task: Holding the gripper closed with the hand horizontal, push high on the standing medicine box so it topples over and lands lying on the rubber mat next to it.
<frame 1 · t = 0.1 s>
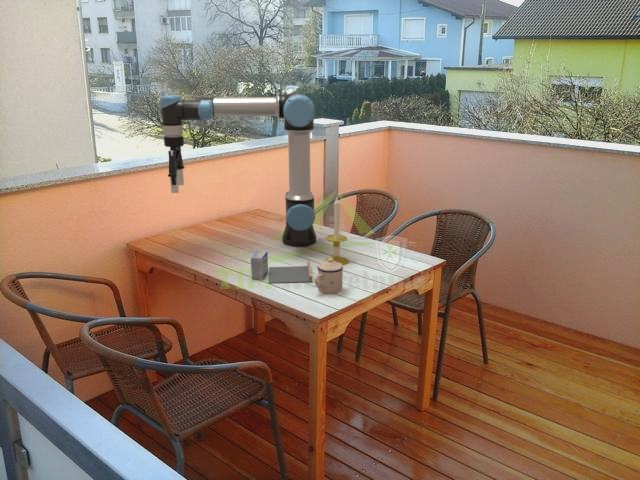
hand: (177, 188, 238), 28 cm above the table, tool pointing down, fingers open, 13 cm apart
medicine box: (260, 276, 224), on the table
teacup with lid: (327, 291, 210), on the table
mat: (289, 275, 224), on the table
candle: (336, 261, 239), on the table
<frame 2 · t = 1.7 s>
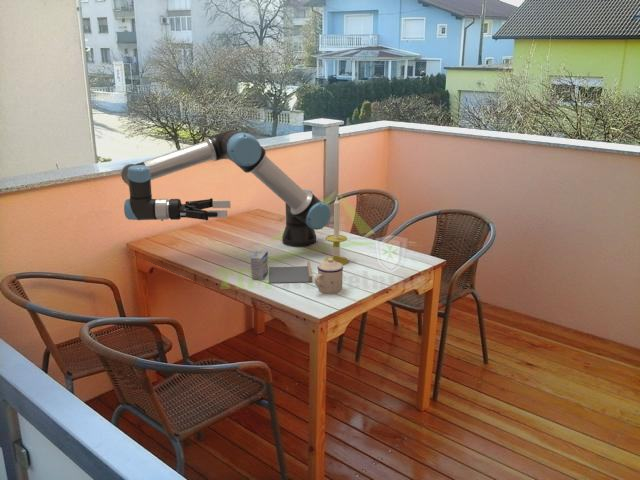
hand: (228, 208, 215), 26 cm above the table, tool horizontal, fingers open, 13 cm apart
nothing on the table moved.
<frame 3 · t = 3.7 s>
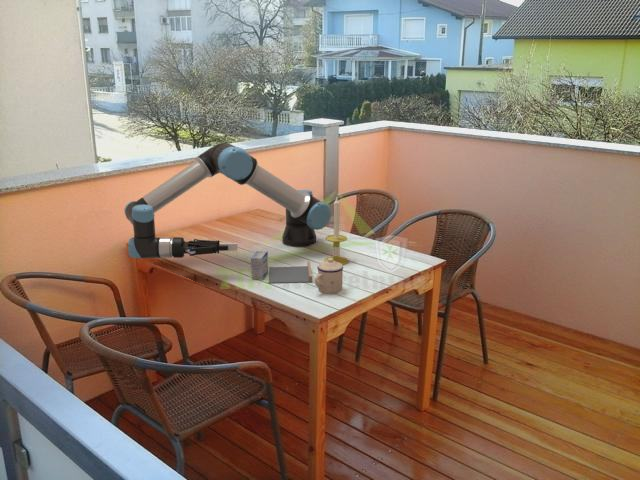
hand: (237, 246, 219), 12 cm above the table, tool horizontal, fingers closed
nothing on the table moved.
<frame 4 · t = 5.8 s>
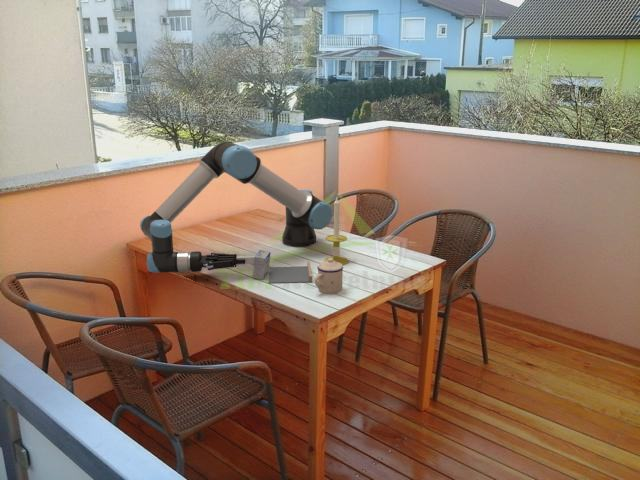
hand: (254, 260, 221), 6 cm above the table, tool horizontal, fingers closed
medicine box: (260, 275, 224), on the table, touching gripper
everything else where it was.
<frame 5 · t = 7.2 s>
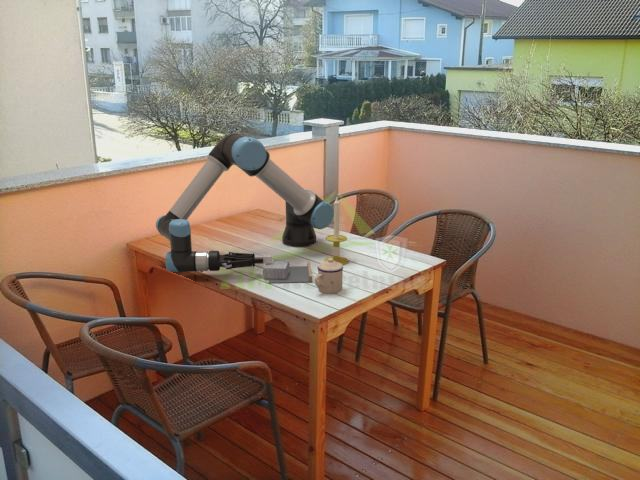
hand: (272, 259, 222), 6 cm above the table, tool horizontal, fingers closed
medicine box: (264, 269, 223), point 3 cm above the table, touching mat
everything else where it was.
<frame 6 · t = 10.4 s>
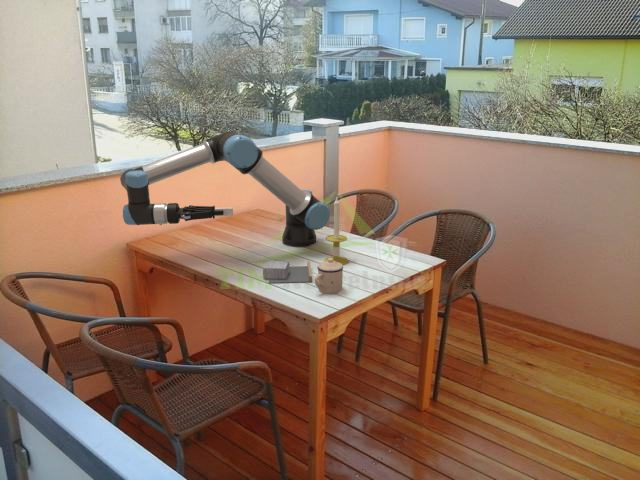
hand: (232, 211, 217), 25 cm above the table, tool horizontal, fingers closed
nothing on the table moved.
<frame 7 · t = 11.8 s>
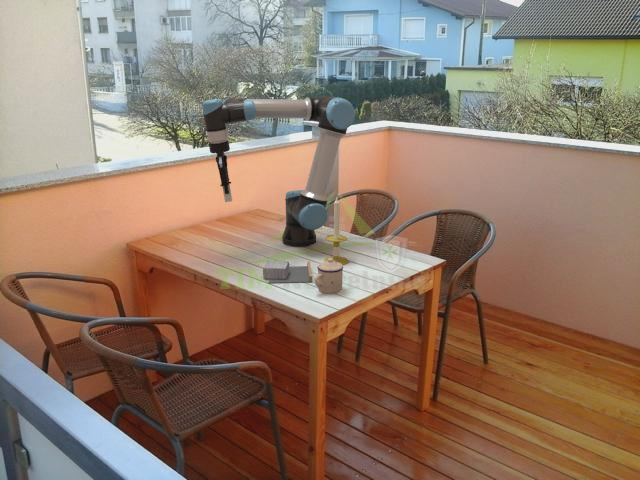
hand: (228, 201, 231), 25 cm above the table, tool pointing down, fingers closed
nothing on the table moved.
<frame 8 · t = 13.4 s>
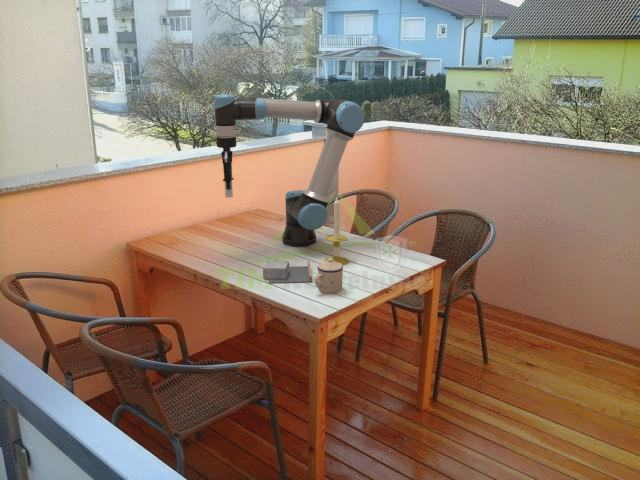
hand: (229, 196, 232), 26 cm above the table, tool pointing down, fingers closed
nothing on the table moved.
at the end: medicine box tilted 90°; medicine box inside the target area (9.0 cm from its centre), point 2.6 cm above the table; the gripper is holding nothing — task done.
